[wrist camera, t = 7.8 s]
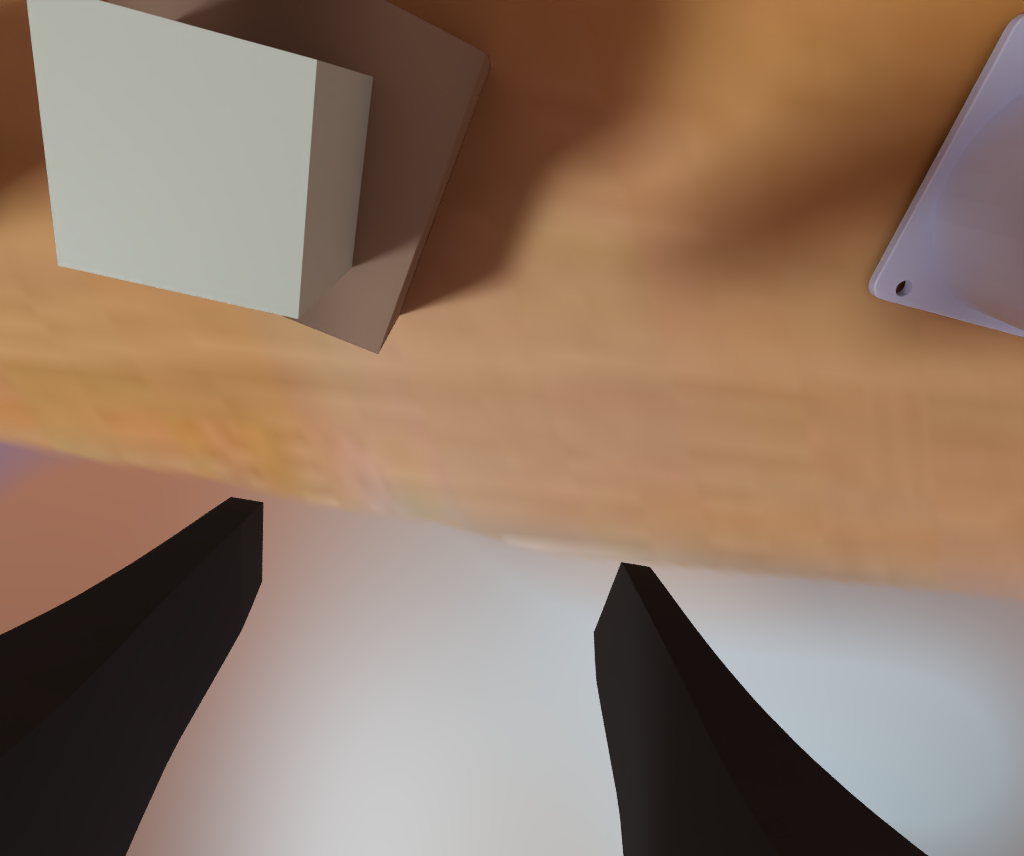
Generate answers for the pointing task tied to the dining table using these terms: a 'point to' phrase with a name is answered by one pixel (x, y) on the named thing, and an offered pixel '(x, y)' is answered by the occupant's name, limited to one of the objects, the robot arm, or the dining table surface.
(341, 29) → the walnut block
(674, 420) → the dining table surface
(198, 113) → the sage cube
